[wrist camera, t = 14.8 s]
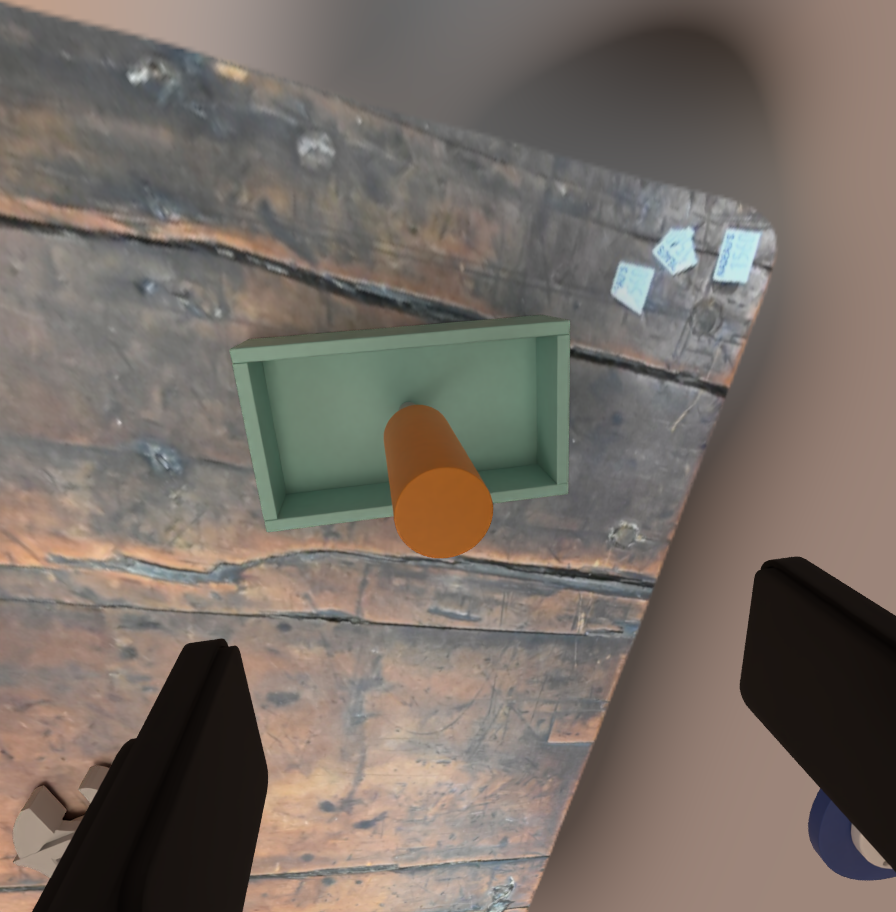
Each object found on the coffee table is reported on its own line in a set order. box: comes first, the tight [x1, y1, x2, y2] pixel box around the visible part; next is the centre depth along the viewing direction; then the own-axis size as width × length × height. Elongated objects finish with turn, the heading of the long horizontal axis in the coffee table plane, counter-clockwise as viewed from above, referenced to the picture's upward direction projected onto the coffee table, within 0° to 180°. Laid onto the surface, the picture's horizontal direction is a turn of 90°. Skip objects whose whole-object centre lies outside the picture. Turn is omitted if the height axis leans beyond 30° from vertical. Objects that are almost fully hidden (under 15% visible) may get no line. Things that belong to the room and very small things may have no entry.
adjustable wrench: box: [13, 766, 109, 878], centre depth 33 cm, size 25×6×2 cm, turn 172°
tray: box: [230, 315, 570, 532], centre depth 25 cm, size 8×14×4 cm, turn 94°
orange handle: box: [384, 402, 493, 558], centre depth 20 cm, size 3×3×12 cm
